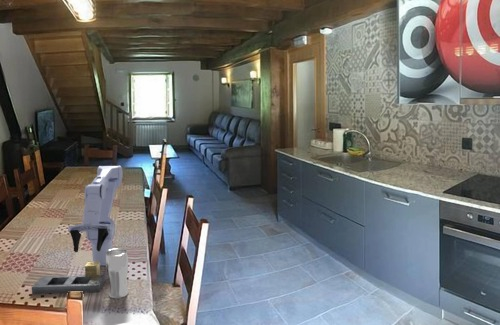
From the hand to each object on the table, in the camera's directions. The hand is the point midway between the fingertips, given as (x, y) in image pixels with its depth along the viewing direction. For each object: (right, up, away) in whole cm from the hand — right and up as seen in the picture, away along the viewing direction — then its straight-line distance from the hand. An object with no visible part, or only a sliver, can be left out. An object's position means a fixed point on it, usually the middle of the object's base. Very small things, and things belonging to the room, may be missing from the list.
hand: (87, 251), depth 139 cm
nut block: (0, -12, +6) cm, 13 cm away
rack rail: (-6, -13, 0) cm, 14 cm away
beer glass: (+13, -14, -5) cm, 19 cm away
